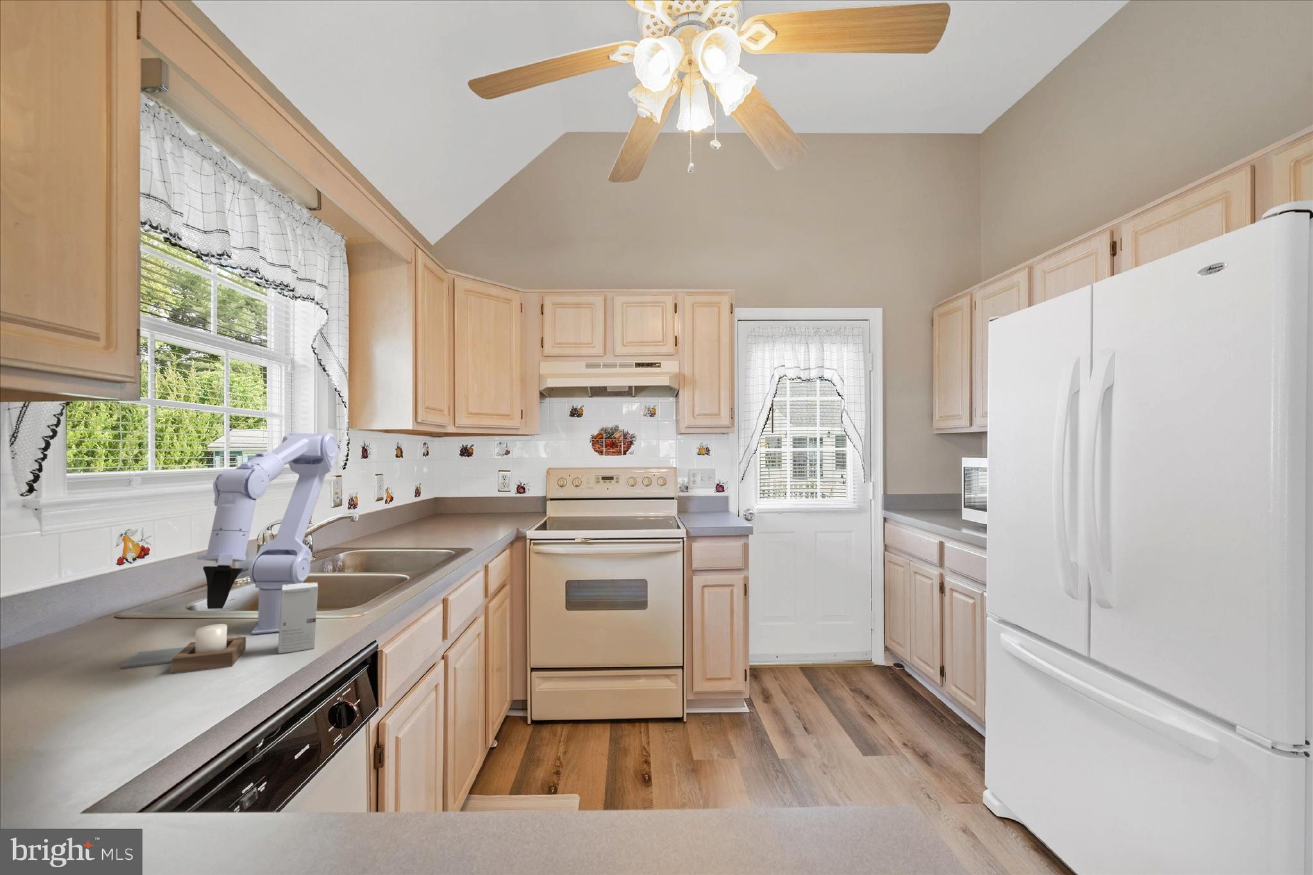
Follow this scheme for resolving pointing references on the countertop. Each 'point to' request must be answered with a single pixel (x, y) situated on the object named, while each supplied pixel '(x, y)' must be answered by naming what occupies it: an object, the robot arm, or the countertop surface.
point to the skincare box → (297, 617)
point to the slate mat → (152, 657)
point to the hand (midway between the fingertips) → (215, 608)
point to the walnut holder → (208, 657)
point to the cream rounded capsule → (211, 638)
